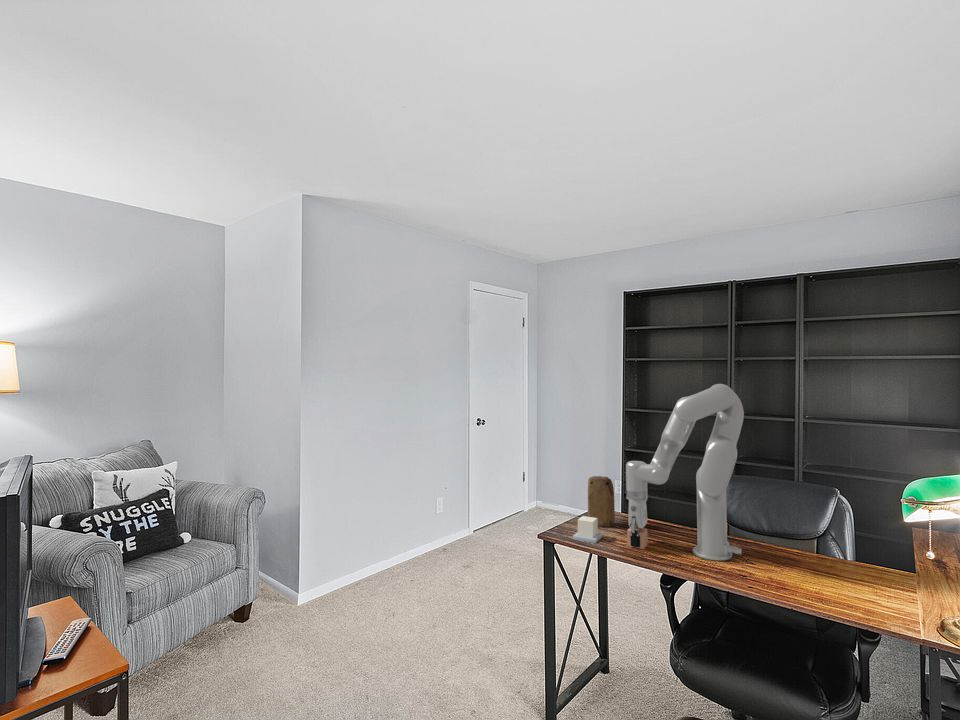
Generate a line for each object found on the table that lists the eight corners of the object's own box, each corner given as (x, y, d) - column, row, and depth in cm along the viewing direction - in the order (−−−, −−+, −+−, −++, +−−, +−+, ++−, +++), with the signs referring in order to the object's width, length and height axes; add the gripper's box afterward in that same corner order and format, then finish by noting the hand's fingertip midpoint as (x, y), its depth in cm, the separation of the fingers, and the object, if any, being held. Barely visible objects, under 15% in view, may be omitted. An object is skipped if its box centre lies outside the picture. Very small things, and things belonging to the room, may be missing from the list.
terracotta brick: (647, 544, 192) (647, 528, 192) (644, 549, 187) (643, 532, 187) (631, 542, 195) (630, 526, 195) (627, 546, 189) (627, 530, 190)
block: (586, 525, 216) (586, 477, 216) (591, 520, 222) (590, 474, 223) (612, 529, 211) (612, 479, 211) (616, 524, 217) (616, 476, 218)
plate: (602, 536, 202) (602, 533, 202) (595, 543, 194) (595, 539, 194) (580, 532, 206) (580, 529, 206) (572, 539, 198) (572, 536, 198)
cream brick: (597, 533, 201) (597, 518, 201) (592, 537, 196) (592, 522, 196) (582, 531, 204) (582, 515, 204) (577, 535, 199) (577, 519, 199)
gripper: (642, 501, 182) (642, 552, 181) (652, 491, 197) (652, 538, 196) (620, 498, 185) (621, 549, 185) (632, 489, 200) (632, 535, 200)
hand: (637, 543), depth 191 cm, fingers closed on terracotta brick, 6 cm apart
